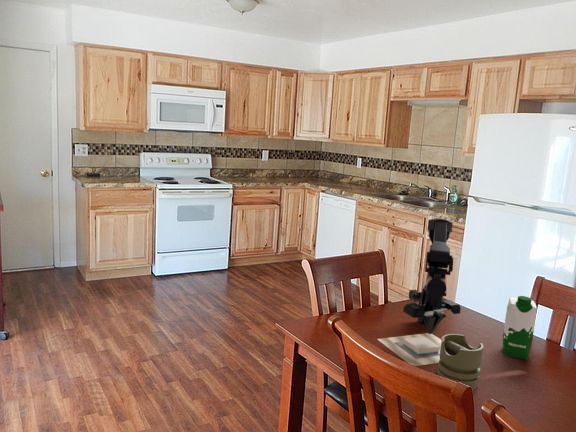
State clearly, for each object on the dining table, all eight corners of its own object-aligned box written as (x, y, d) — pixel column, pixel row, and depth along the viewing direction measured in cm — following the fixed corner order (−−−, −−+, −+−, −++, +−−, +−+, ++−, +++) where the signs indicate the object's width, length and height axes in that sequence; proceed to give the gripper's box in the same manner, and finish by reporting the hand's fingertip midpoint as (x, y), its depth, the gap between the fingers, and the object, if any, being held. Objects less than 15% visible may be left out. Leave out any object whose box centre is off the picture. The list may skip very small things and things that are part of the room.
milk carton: (501, 356, 165) (510, 297, 161) (499, 345, 173) (508, 289, 170) (530, 361, 162) (540, 302, 159) (527, 350, 171) (536, 294, 167)
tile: (423, 336, 168) (403, 338, 165) (439, 346, 161) (419, 349, 158) (423, 342, 169) (403, 344, 166) (438, 352, 161) (418, 355, 158)
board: (429, 336, 177) (430, 332, 177) (470, 361, 159) (470, 358, 159) (376, 342, 169) (376, 339, 168) (412, 370, 151) (413, 366, 150)
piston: (466, 353, 136) (433, 337, 145) (460, 394, 138) (428, 376, 147) (491, 346, 142) (458, 331, 152) (485, 385, 144) (453, 368, 154)
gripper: (441, 278, 172) (436, 321, 175) (396, 281, 165) (391, 326, 167) (464, 289, 162) (458, 334, 165) (417, 292, 155) (411, 340, 157)
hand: (429, 333), depth 164 cm, fingers closed
